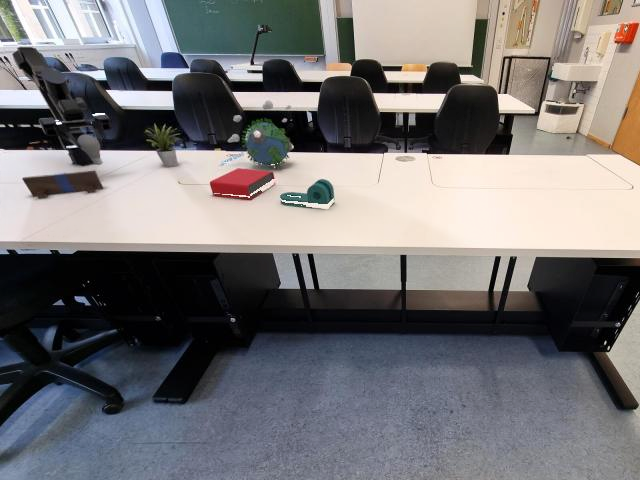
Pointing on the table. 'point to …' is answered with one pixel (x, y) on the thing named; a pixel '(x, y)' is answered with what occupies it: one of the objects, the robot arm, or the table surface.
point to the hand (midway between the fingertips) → (90, 146)
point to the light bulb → (90, 147)
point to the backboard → (63, 183)
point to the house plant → (164, 146)
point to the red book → (241, 183)
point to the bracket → (311, 194)
